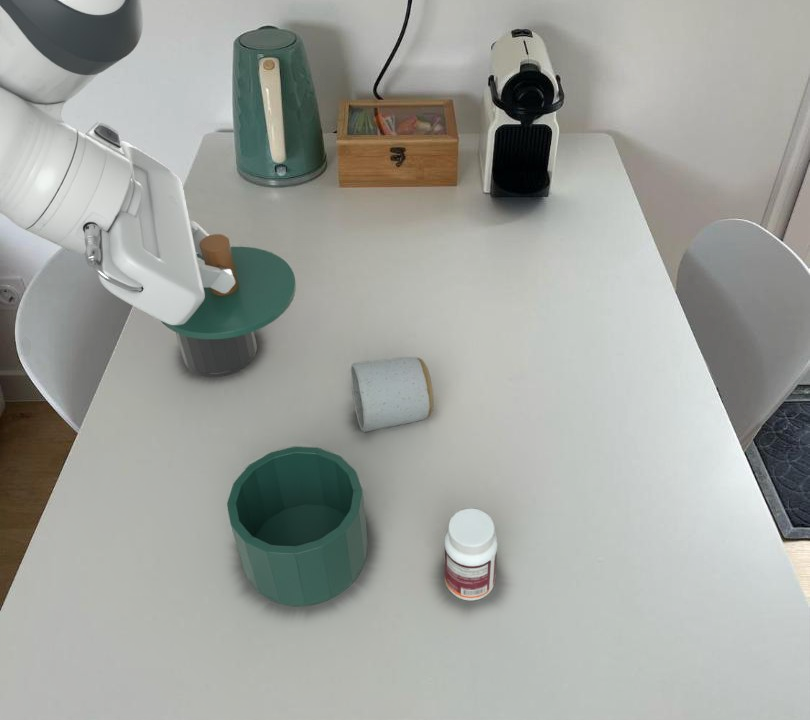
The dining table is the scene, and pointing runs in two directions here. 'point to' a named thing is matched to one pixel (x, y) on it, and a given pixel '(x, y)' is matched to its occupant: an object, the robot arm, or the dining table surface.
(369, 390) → the ceramic mug
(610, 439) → the dining table surface
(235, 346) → the cup
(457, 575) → the pill bottle
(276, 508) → the tin
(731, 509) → the dining table surface
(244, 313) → the tin lid
